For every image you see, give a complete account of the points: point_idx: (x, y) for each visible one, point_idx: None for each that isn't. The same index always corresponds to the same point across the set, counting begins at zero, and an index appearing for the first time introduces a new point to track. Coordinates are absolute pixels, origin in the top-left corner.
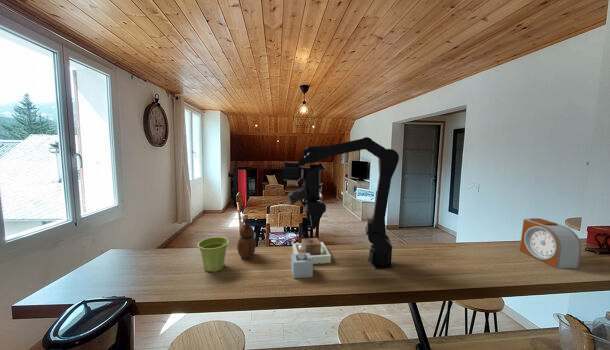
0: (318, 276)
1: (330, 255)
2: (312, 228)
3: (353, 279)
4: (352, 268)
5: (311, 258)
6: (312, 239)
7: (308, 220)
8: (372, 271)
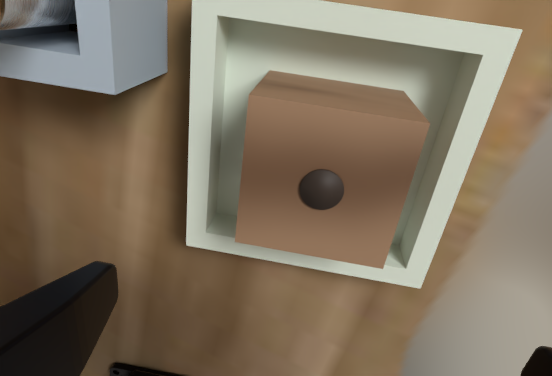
0: (55, 91)
1: (188, 243)
2: (91, 267)
3: (31, 242)
4: (128, 285)
5: (11, 76)
6: (364, 218)
7: (533, 358)
8: None
